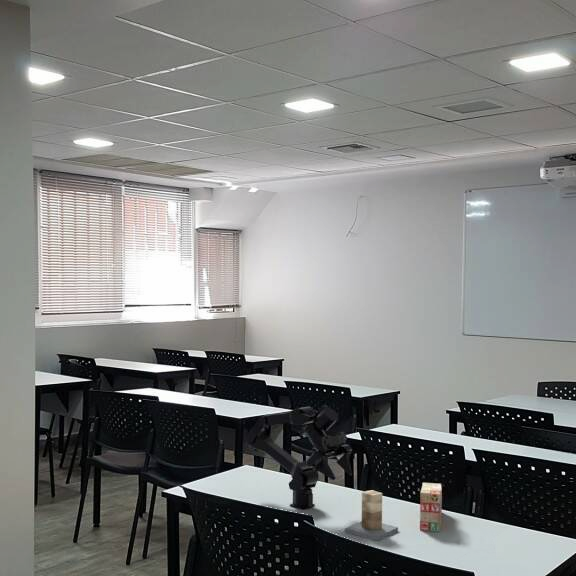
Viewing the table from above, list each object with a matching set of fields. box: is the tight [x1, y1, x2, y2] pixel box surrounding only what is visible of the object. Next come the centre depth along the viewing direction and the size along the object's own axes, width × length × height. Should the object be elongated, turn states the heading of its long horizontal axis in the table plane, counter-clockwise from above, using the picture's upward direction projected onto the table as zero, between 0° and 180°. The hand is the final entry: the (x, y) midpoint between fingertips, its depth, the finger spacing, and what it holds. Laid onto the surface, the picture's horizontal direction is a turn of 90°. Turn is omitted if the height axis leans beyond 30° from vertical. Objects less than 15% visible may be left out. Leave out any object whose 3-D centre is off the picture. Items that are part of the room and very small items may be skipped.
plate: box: [344, 520, 399, 541], centre depth 227 cm, size 12×12×1 cm
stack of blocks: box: [419, 482, 443, 533], centre depth 238 cm, size 21×6×12 cm, turn 166°
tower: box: [361, 489, 383, 531], centre depth 227 cm, size 4×4×11 cm
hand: (343, 476), depth 241 cm, fingers open, 9 cm apart
